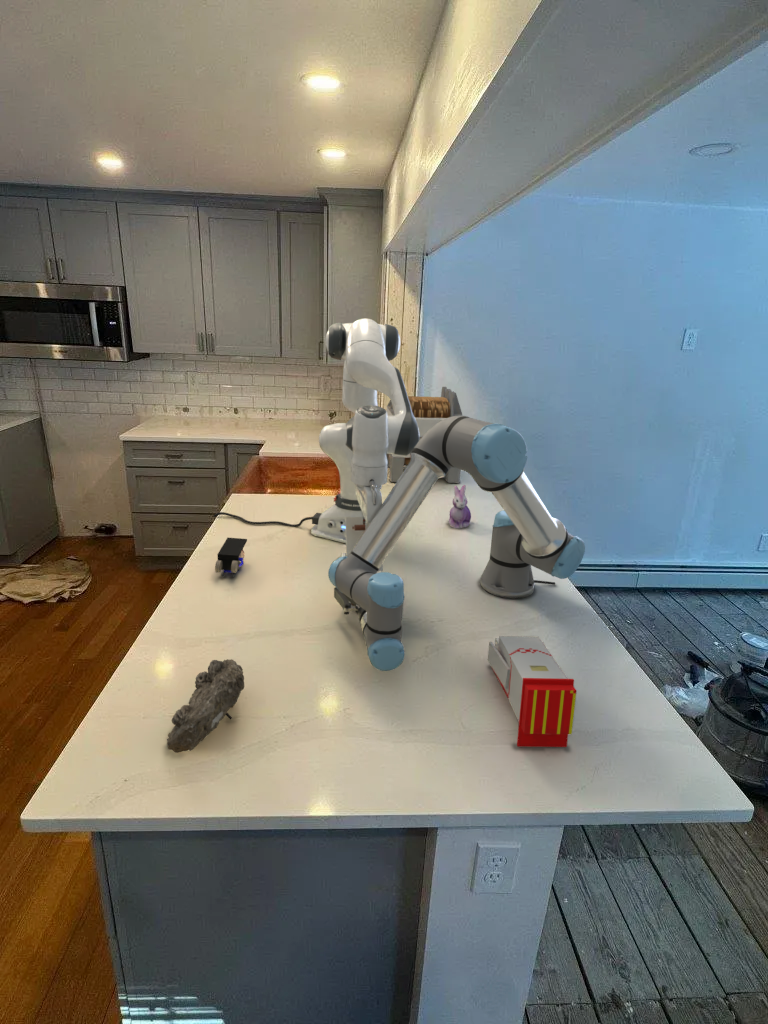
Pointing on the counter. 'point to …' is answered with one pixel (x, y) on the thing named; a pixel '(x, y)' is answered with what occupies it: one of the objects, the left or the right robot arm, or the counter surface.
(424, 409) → the transformer
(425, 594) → the counter surface
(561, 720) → the toy
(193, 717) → the fossil
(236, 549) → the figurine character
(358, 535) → the lid
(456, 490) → the figurine
